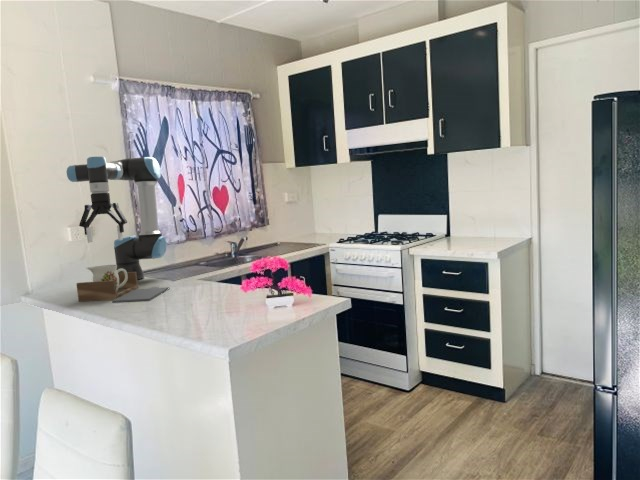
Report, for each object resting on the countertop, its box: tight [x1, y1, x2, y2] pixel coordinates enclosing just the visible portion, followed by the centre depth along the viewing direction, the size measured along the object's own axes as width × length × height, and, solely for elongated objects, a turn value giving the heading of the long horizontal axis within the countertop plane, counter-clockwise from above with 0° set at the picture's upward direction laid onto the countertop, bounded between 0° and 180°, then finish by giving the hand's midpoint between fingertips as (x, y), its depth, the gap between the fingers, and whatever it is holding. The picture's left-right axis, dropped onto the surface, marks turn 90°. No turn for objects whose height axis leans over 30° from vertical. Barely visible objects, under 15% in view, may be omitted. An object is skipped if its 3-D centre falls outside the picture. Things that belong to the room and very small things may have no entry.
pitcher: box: [85, 264, 128, 292], centre depth 222 cm, size 11×18×14 cm, turn 136°
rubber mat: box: [111, 286, 170, 304], centre depth 215 cm, size 24×16×1 cm, turn 178°
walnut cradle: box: [76, 272, 139, 302], centre depth 222 cm, size 24×16×8 cm
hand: (105, 241), depth 213 cm, fingers open, 13 cm apart
